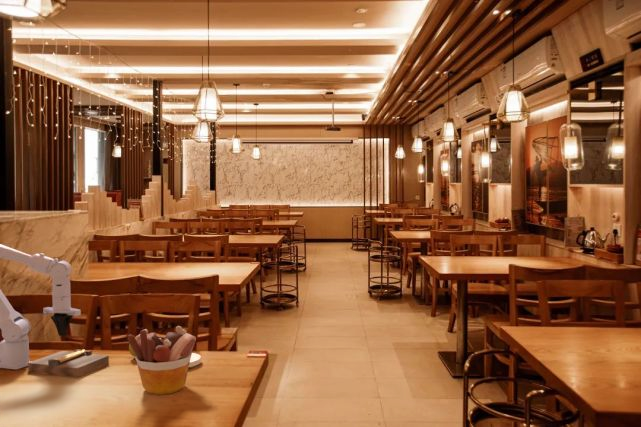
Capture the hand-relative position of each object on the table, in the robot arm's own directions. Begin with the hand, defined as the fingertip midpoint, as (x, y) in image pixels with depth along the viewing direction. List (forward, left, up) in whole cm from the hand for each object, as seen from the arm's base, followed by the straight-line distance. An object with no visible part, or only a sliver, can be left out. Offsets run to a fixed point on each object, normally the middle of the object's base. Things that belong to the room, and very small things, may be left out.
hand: (62, 335), depth 194 cm
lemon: (+21, +13, -10) cm, 27 cm away
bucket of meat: (+49, -12, -10) cm, 51 cm away
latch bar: (+6, -3, -7) cm, 9 cm away
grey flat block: (+6, -4, -10) cm, 12 cm away
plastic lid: (+40, +11, -10) cm, 43 cm away
